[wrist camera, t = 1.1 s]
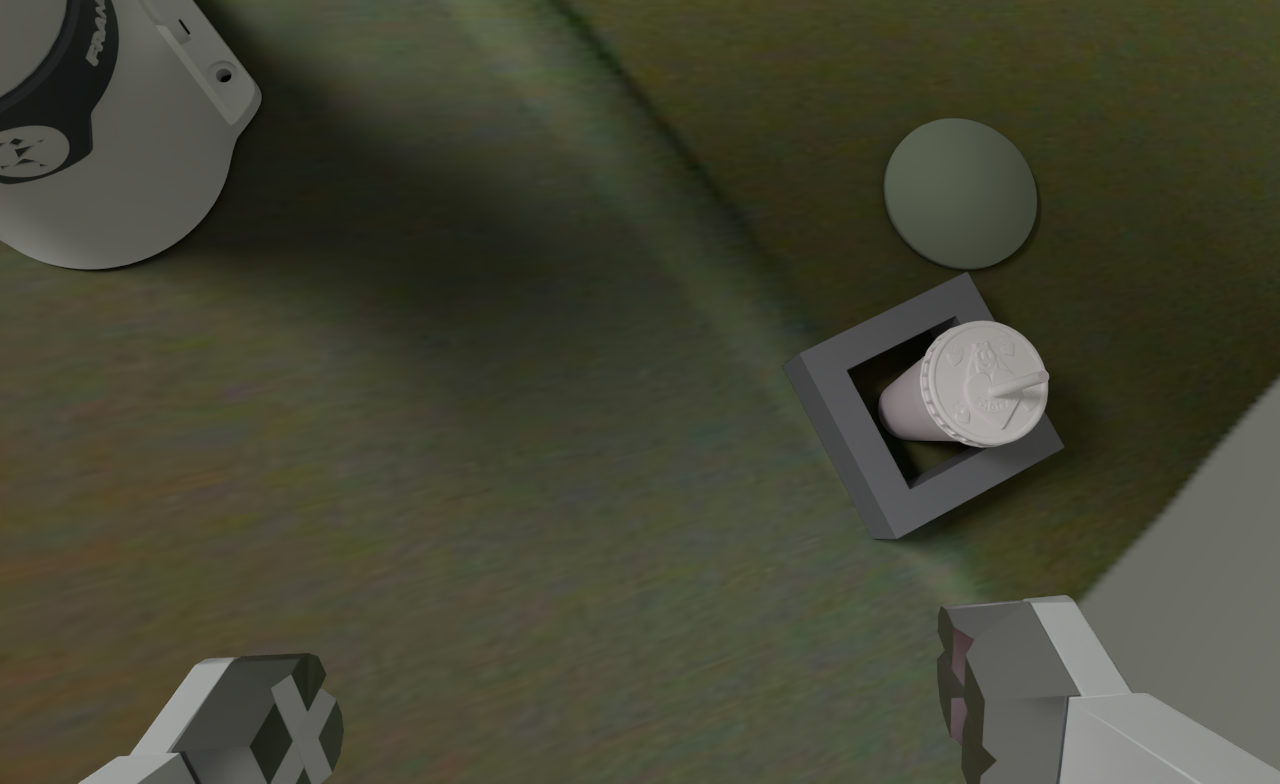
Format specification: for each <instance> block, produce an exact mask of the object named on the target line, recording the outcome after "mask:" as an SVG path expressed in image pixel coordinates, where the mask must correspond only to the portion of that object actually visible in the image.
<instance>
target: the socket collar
mask: <svg viewBox="0 0 1280 784" xmlns="http://www.w3.org/2000/svg"><path fill="white" fill-rule="evenodd" d="M973 321H992V322H995V321H994V319H993V317H992V315H991V313H990V312H989V310H988V308H987V306H986V304H985V303H984V301H983V299H982V297H981V295H980V294H979V292H978V290H977V288H976V286H975V285H974V283H973V281H972V279H971V277H970V276H969V274H968V272H965V273H963V274H961V275H959V276H957V277H955V278H953V279H951V280H949V281H947V282H945V283H943V284H941V285H939V286H937V287H935V288H932V289H930V290H928V291H926V292H924V293H922V294H920V295H918V296H916V297H914V298H912V299H910V300H908V301H906V302H904V303H902V304H900V305H898V306H896V307H894V308H892V309H889V310H887V311H885V312H883V313H881V314H879V315H877V316H875V317H873V318H871V319H869V320H867V321H865V322H863V323H861V324H859V325H857V326H855V327H853V328H851V329H849V330H846V331H844V332H842V333H840V334H838V335H836V336H834V337H832V338H830V339H828V340H826V341H824V342H822V343H820V344H818V345H816V346H814V347H812V348H810V349H808V350H806V351H803V352H801V353H799V354H798V355H797V356H795V357H794V358H792V359H791V360H790V361H788V362H787V363H785V364H784V365H783V366H782V367H783V368H784V370H785V372H786V374H787V376H788V378H789V380H790V382H791V384H792V386H793V388H794V390H795V391H796V393H797V395H798V397H799V399H800V401H801V403H802V405H803V407H804V409H805V411H806V413H807V414H808V416H809V418H810V420H811V422H812V424H813V426H814V428H815V430H816V432H817V434H818V435H819V437H820V439H821V441H822V443H823V445H824V447H825V449H826V451H827V453H828V455H829V457H830V458H831V460H832V462H833V464H834V466H835V468H836V470H837V472H838V474H839V476H840V478H841V480H842V481H843V483H844V485H845V487H846V489H847V491H848V493H849V495H850V497H851V499H852V501H853V503H854V504H855V506H856V508H857V510H858V512H859V514H860V516H861V518H862V520H863V522H864V524H865V525H866V527H867V529H868V531H869V533H870V535H871V537H872V539H898V538H900V537H902V536H903V535H905V534H907V533H909V532H911V531H913V530H914V529H916V528H918V527H920V526H922V525H924V524H925V523H927V522H929V521H931V520H933V519H935V518H936V517H938V516H940V515H942V514H944V513H946V512H947V511H949V510H951V509H953V508H955V507H957V506H958V505H960V504H962V503H964V502H966V501H968V500H969V499H971V498H973V497H975V496H977V495H979V494H980V493H982V492H984V491H986V490H988V489H990V488H991V487H993V486H995V485H997V484H999V483H1001V482H1002V481H1004V480H1006V479H1008V478H1010V477H1012V476H1013V475H1015V474H1017V473H1019V472H1021V471H1023V470H1024V469H1026V468H1028V467H1030V466H1032V465H1034V464H1035V463H1037V462H1039V461H1041V460H1043V459H1045V458H1046V457H1048V456H1050V455H1052V454H1054V453H1056V452H1057V451H1059V450H1061V449H1063V448H1065V447H1064V445H1063V443H1062V442H1061V440H1060V438H1059V436H1058V434H1057V433H1056V431H1055V429H1054V427H1053V425H1052V424H1051V422H1050V420H1049V418H1048V416H1047V414H1046V413H1045V411H1044V412H1043V414H1042V416H1041V418H1040V420H1039V421H1038V423H1037V424H1036V425H1035V426H1034V428H1033V429H1032V430H1031V431H1029V432H1028V433H1027V434H1026V435H1024V436H1023V437H1021V438H1019V439H1017V440H1015V441H1012V442H1010V443H1006V444H1003V445H1000V446H997V447H983V448H980V447H976V446H972V447H970V448H968V449H967V450H965V451H963V452H961V453H959V454H957V455H955V456H953V457H952V458H950V459H948V460H946V461H944V462H942V463H940V464H938V465H937V466H935V467H933V468H931V469H929V470H927V471H925V472H923V473H922V474H920V475H918V476H916V477H914V478H912V479H910V480H908V481H907V482H905V480H904V478H903V476H902V474H901V472H900V471H899V469H898V467H897V465H896V463H895V461H894V459H893V457H892V455H891V454H890V452H889V450H888V448H887V446H886V444H885V442H884V440H883V439H882V437H881V435H880V433H879V431H878V429H877V427H876V425H875V423H874V422H873V420H872V418H871V416H870V414H869V412H868V410H867V408H866V406H865V405H864V403H863V401H862V399H861V397H860V395H859V393H858V391H857V389H856V388H855V386H854V384H853V382H852V380H851V378H850V376H849V374H848V373H847V370H849V369H851V368H853V367H855V366H857V365H859V364H861V363H863V362H865V361H867V360H869V359H871V358H873V357H875V356H877V355H879V354H881V353H883V352H886V351H888V350H890V349H892V348H894V347H896V346H898V345H900V344H902V343H904V342H906V341H908V340H910V339H912V338H914V337H916V336H918V335H920V334H922V333H924V332H926V331H928V330H929V332H930V333H931V335H932V337H933V339H934V341H935V340H936V338H937V337H939V336H940V335H941V334H943V333H944V332H946V331H947V330H949V329H950V328H953V327H956V326H960V325H962V324H965V323H968V322H973Z"/></svg>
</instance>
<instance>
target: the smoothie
mask: <svg viewBox="0 0 1280 784" xmlns="http://www.w3.org/2000/svg"><path fill="white" fill-rule="evenodd" d="M1048 380H1049V374H1048V372H1046V370H1045V367H1044V364H1043V362H1042V360H1041V358H1040V356H1039V354H1038V352H1037V351H1036V349H1035V348H1034V347H1033V345H1032V344H1031V343H1030V342H1029V341H1028V340H1027V339H1026V338H1025V337H1024V336H1023V335H1021V334H1020V333H1019V332H1017V331H1016V330H1014V329H1012V328H1010V327H1008V326H1006V325H1004V324H1001V323H997V322H992V321H973V322H968V323H965V324H962V325H960V326H956V327H953V328H950V329H949V330H947V331H946V332H944V333H943V334H941V335H940V336H939V337H937V338H936V340H935V341H934V342H933V343H932V345H931V346H930V347H929V348H928V350H927V352H926V354H925V356H924V357H923V358H922V359H920V360H919V361H918V362H917V363H915V364H914V365H913V366H912V367H911V368H909V369H908V370H907V371H906V372H905V373H903V374H902V375H901V376H900V377H899V378H897V379H896V380H895V381H894V382H892V383H891V384H890V385H889V386H888V387H887V388H886V389H885V390H884V391H883V392H882V394H881V396H880V399H879V402H878V414H879V418H880V421H881V423H882V425H883V426H884V428H885V429H886V430H887V431H888V432H889V433H890V434H892V435H893V436H895V437H897V438H899V439H903V440H921V441H960V442H961V443H963V444H966V445H971V446H976V447H980V448H983V447H997V446H1000V445H1003V444H1006V443H1010V442H1012V441H1015V440H1017V439H1019V438H1021V437H1023V436H1024V435H1026V434H1027V433H1028V432H1029V431H1031V430H1032V429H1033V428H1034V426H1035V425H1036V424H1037V423H1038V421H1039V420H1040V418H1041V416H1042V414H1043V412H1044V409H1045V406H1046V403H1047V397H1048Z"/></svg>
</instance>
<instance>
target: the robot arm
mask: <svg viewBox="0 0 1280 784" xmlns="http://www.w3.org/2000/svg"><path fill="white" fill-rule="evenodd" d="M227 75H230V76H231V79H230V80H229V81H228V82H220V81H221V79H222V78H223V77H224V76H227ZM261 98H262V96H261V91H260V89H259V87H258V85H257V84H256V83H255V81H254V80H253V79H252V77H251V76H250V75H249V73H248V72H247V71H246V69H245V68H244V67H243V65H242V64H241V63H240V61H239V60H238V59H237V57H236V56H235V55H234V53H233V52H232V51H231V49H230V48H229V47H228V45H227V44H226V43H225V41H224V40H223V39H222V37H221V36H220V35H219V34H218V32H217V31H216V30H215V28H214V27H213V26H212V24H211V23H210V22H209V20H208V19H207V18H206V16H205V15H204V14H203V12H202V11H201V10H200V8H199V7H198V6H197V4H196V3H195V2H194V0H0V240H1V241H2V242H4V243H6V244H7V245H9V246H11V247H12V248H14V249H16V250H18V251H19V252H21V253H23V254H25V255H27V256H29V257H32V258H34V259H36V260H39V261H42V262H45V263H48V264H52V265H56V266H61V267H67V268H75V269H104V268H112V267H118V266H123V265H127V264H131V263H134V262H138V261H141V260H143V259H146V258H148V257H151V256H153V255H155V254H157V253H159V252H161V251H163V250H165V249H167V248H168V247H170V246H172V245H173V244H175V243H176V242H178V241H179V240H180V239H182V238H183V237H184V236H186V235H187V234H188V233H189V232H190V231H191V230H192V229H194V228H195V227H196V226H197V225H198V224H199V222H200V221H201V220H202V219H203V218H204V217H205V216H206V214H207V213H208V212H209V210H210V209H211V208H212V206H213V205H214V203H215V201H216V200H217V198H218V196H219V194H220V192H221V190H222V188H223V185H224V183H225V180H226V177H227V174H228V171H229V166H230V162H231V157H232V153H233V149H234V146H235V143H236V140H237V138H238V136H239V135H240V134H241V132H242V131H243V130H244V129H245V127H246V126H247V125H248V123H249V122H250V121H251V119H252V118H253V116H254V115H255V114H256V112H257V110H258V108H259V106H260V104H261ZM938 634H939V636H940V639H941V642H942V644H943V647H944V649H945V651H944V652H943V653H942V654H941V655H940V657H939V658H938V659H937V680H938V688H939V696H940V703H941V707H942V711H943V715H944V719H945V722H946V725H947V728H948V731H949V734H950V737H951V738H952V739H954V740H955V741H956V742H958V743H959V744H960V745H961V746H962V767H961V768H962V771H963V774H964V776H965V779H966V782H967V784H1280V771H1278V770H1277V769H1275V768H1273V767H1272V766H1270V765H1268V764H1267V763H1265V762H1263V761H1261V760H1260V759H1258V758H1256V757H1255V756H1253V755H1251V754H1250V753H1248V752H1246V751H1245V750H1243V749H1241V748H1239V747H1238V746H1236V745H1234V744H1233V743H1231V742H1229V741H1228V740H1226V739H1224V738H1222V737H1221V736H1219V735H1217V734H1216V733H1214V732H1212V731H1211V730H1209V729H1207V728H1206V727H1204V726H1202V725H1201V724H1199V723H1197V722H1196V721H1194V720H1192V719H1190V718H1189V717H1187V716H1185V715H1184V714H1182V713H1180V712H1179V711H1177V710H1175V709H1174V708H1172V707H1170V706H1168V705H1167V704H1165V703H1163V702H1161V701H1160V700H1158V699H1156V698H1155V697H1153V696H1152V695H1150V694H1148V693H1133V692H1132V690H1131V689H1130V687H1129V686H1128V684H1127V683H1126V681H1125V679H1124V678H1123V676H1122V675H1121V673H1120V671H1119V670H1118V668H1117V667H1116V665H1115V664H1114V662H1113V661H1112V659H1111V657H1110V656H1109V654H1108V653H1107V651H1106V650H1105V648H1104V647H1103V645H1102V643H1101V642H1100V640H1099V639H1098V637H1097V636H1096V634H1095V633H1094V631H1093V629H1092V628H1091V626H1090V625H1089V623H1088V622H1087V620H1086V618H1085V617H1084V615H1083V614H1082V612H1081V611H1080V609H1079V607H1078V606H1077V604H1076V603H1075V601H1074V600H1073V599H1071V598H1070V597H1068V596H1067V595H1061V596H1050V597H1040V598H1029V599H1024V600H1014V601H1002V602H989V603H977V604H965V605H952V606H941V607H940V611H939V615H938ZM325 677H326V672H325V670H324V668H323V666H322V664H321V661H320V659H319V657H318V656H316V655H313V654H310V653H300V654H280V655H259V656H241V657H234V658H212V659H205V660H204V661H202V662H200V663H198V664H196V665H195V666H194V667H193V669H192V670H191V671H190V673H189V674H188V676H187V677H186V678H185V680H184V681H183V683H182V684H181V685H180V687H179V688H178V689H177V691H176V692H175V694H174V695H173V696H172V698H171V699H170V700H169V702H168V703H167V705H166V706H165V707H164V709H163V710H162V711H161V713H160V714H159V716H158V717H157V718H156V720H155V721H154V722H153V724H152V725H151V727H150V728H149V729H148V731H147V732H146V733H145V735H144V736H143V738H142V739H141V740H140V742H139V743H138V745H137V746H136V747H135V749H134V750H133V751H132V753H131V754H130V756H120V757H117V758H115V759H114V760H112V761H111V762H109V763H108V764H106V765H105V766H103V767H102V768H101V769H99V770H98V771H96V772H95V773H93V774H92V775H90V776H89V777H87V778H86V779H84V780H83V781H81V782H80V783H78V784H320V783H322V782H323V781H324V780H325V779H326V778H327V777H328V776H330V775H331V774H332V773H333V771H334V768H335V766H336V763H337V761H338V759H339V756H340V754H341V747H342V740H343V733H344V729H343V721H342V713H341V711H340V708H339V705H338V703H337V700H336V699H335V698H333V697H332V696H331V695H329V694H328V693H327V692H325V691H324V690H323V689H321V686H322V684H323V681H324V679H325Z"/></svg>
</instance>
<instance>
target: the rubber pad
mask: <svg viewBox="0 0 1280 784" xmlns="http://www.w3.org/2000/svg"><path fill="white" fill-rule="evenodd" d="M883 197H884V202H885V207H886V211H887V214H888V217H889V219H890V221H891V223H892V225H893V227H894V229H895V230H896V232H897V233H898V235H899V236H900V237H901V239H902V240H903V241H904V242H905V243H906V244H907V245H908V246H909V247H910V248H911V249H912V250H913V251H914V252H916V253H917V254H918V255H920V256H921V257H923V258H924V259H926V260H928V261H929V262H932V263H934V264H936V265H938V266H942V267H945V268H948V269H954V270H968V271H969V270H978V269H982V268H986V267H989V266H992V265H994V264H997V263H998V262H1000V261H1002V260H1003V259H1005V258H1007V257H1008V256H1010V255H1011V254H1012V253H1014V252H1015V251H1016V250H1017V249H1018V248H1019V247H1020V246H1021V245H1022V244H1023V242H1024V241H1025V240H1026V238H1027V237H1028V235H1029V233H1030V231H1031V229H1032V227H1033V223H1034V220H1035V216H1036V211H1037V192H1036V186H1035V182H1034V178H1033V176H1032V173H1031V170H1030V168H1029V166H1028V164H1027V162H1026V161H1025V159H1024V157H1023V156H1022V154H1021V153H1020V152H1019V151H1018V149H1017V148H1016V147H1015V146H1014V145H1013V144H1012V143H1011V142H1010V141H1009V140H1008V139H1007V138H1006V137H1004V136H1003V135H1002V134H1000V133H999V132H997V131H996V130H994V129H992V128H991V127H988V126H986V125H984V124H982V123H978V122H975V121H972V120H967V119H958V118H948V119H940V120H936V121H932V122H929V123H927V124H924V125H922V126H920V127H919V128H917V129H915V130H914V131H913V132H911V133H910V134H909V135H908V136H907V137H906V138H905V139H904V140H903V141H902V142H901V143H900V144H899V145H898V146H897V148H896V149H895V150H894V152H893V154H892V155H891V157H890V159H889V161H888V164H887V167H886V170H885V174H884V181H883Z"/></svg>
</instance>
